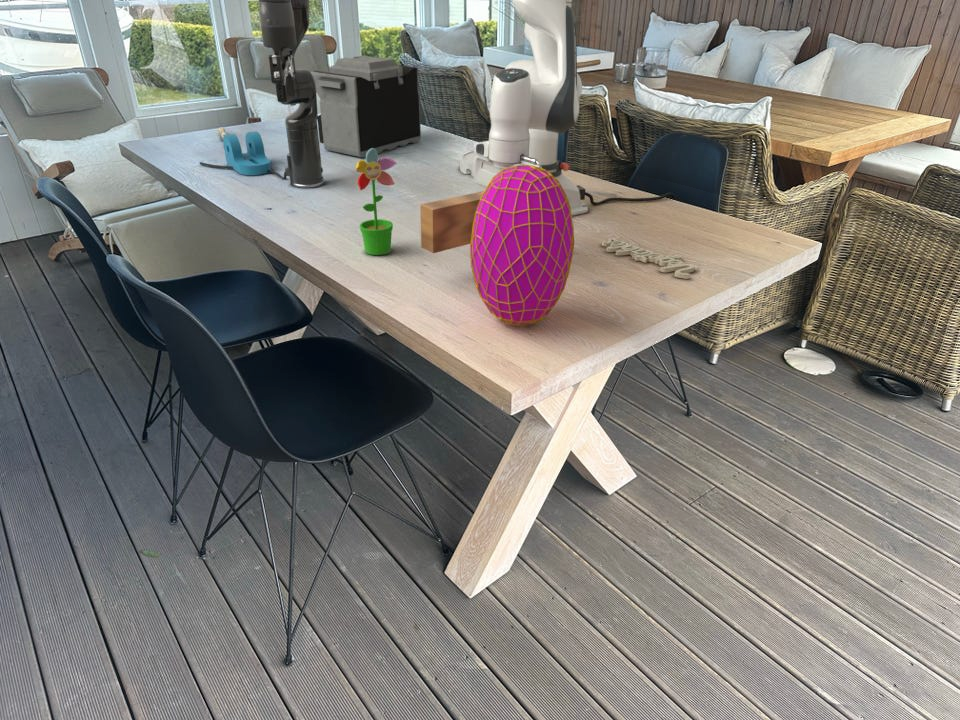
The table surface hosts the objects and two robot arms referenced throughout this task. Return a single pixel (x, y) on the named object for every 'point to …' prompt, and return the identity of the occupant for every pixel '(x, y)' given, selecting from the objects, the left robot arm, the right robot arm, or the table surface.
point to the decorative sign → (651, 257)
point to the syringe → (222, 133)
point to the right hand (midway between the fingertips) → (506, 212)
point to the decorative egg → (522, 244)
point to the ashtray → (467, 162)
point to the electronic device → (368, 105)
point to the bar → (448, 222)
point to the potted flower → (377, 229)
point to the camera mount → (246, 154)
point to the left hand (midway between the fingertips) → (286, 98)
